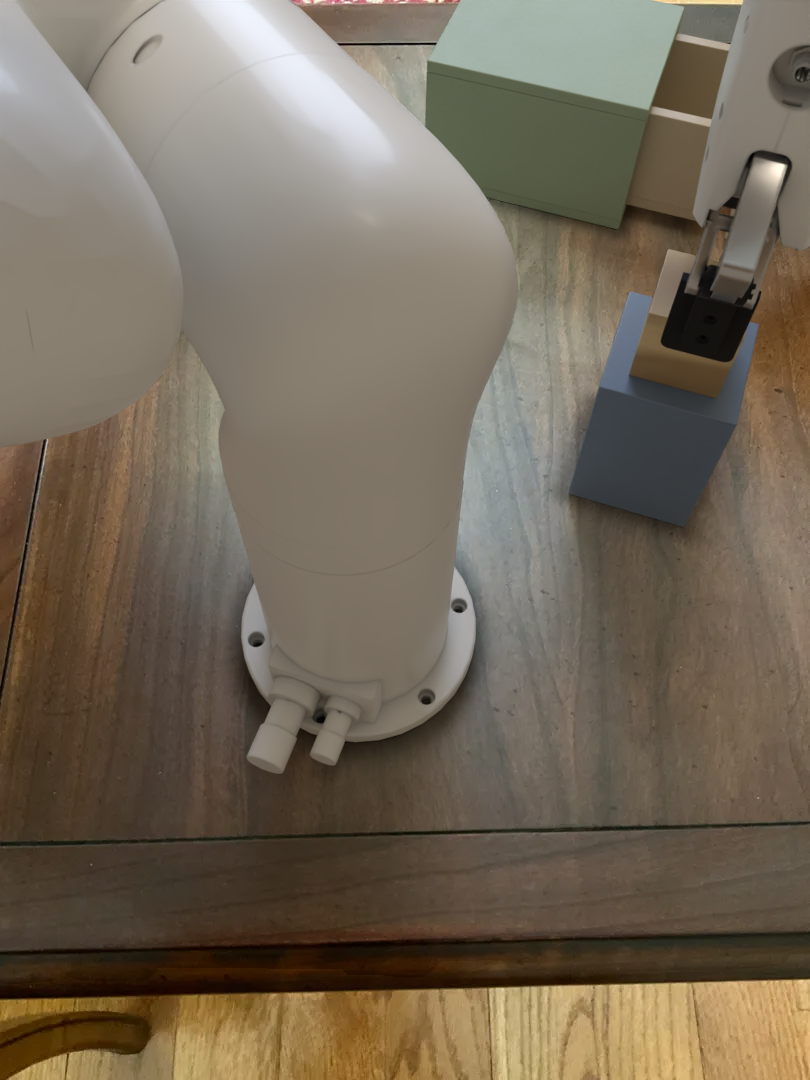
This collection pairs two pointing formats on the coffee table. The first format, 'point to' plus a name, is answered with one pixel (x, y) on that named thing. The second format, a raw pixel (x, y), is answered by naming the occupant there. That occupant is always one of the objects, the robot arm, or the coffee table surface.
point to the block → (669, 363)
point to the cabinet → (550, 98)
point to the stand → (655, 431)
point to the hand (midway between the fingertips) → (715, 273)
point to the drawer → (679, 128)
